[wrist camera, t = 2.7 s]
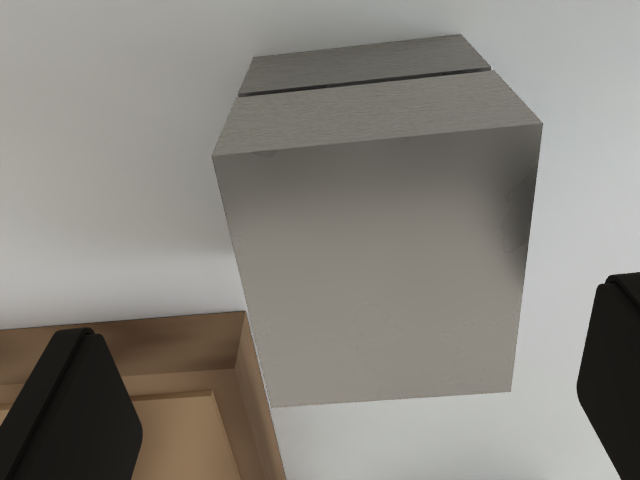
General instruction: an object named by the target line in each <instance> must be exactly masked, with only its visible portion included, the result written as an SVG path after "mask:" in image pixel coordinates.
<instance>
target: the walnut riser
mask: <svg viewBox="0 0 640 480" xmlns="http://www.w3.org/2000/svg"><path fill="white" fill-rule="evenodd" d="M83 327H90V328H91V329H92V330H93V331H94V332H95V334H101V335H102V336H103V337H104V339H105V341H106V344H107V346H108V348H109V350H110V353H111V355H112V357H113V360H114V362H115V364H116V367H117V369H118V371H119V373H120V376H121V378H122V380H123V383H124V385H125V387H126V390H127V392H128V394H129V396H130V399H131V401H132V403H133V406H134V408H135V410H136V413H137V415H138V417H139V419H140V422H141V424H142V429H143V440H142V445H141V448H140V451H139V455H138V458H137V461H136V465H135V468H134V471H133V475H132V478H131V480H286V477H285V473H284V469H283V464H282V460H281V456H280V452H279V448H278V444H277V439H276V435H275V431H274V427H273V423H272V419H271V415H270V410H269V406H268V402H267V398H266V394H265V390H264V385H263V381H262V377H261V373H260V369H259V365H258V361H257V356H256V352H255V348H254V344H253V340H252V336H251V331H250V327H249V323H248V319H247V315H246V311H241V312H228V313H215V314H202V315H190V316H177V317H164V318H151V319H139V320H126V321H113V322H100V323H88V324H75V325H62V326H49V327H37V328H24V329H11V330H0V426H1V424H2V422H3V421H4V419H5V417H6V416H7V414H8V412H9V410H10V409H11V407H12V405H13V403H14V402H15V400H16V398H17V397H18V395H19V393H20V391H21V390H22V388H23V386H24V384H25V383H26V381H27V379H28V378H29V376H30V374H31V372H32V371H33V369H34V367H35V365H36V364H37V362H38V360H39V358H40V357H41V355H42V353H43V352H44V350H45V348H46V346H47V345H48V343H49V341H50V339H51V338H52V336H53V335H54V333H55V332H56V331H58V330H62V329H72V328H83Z"/></svg>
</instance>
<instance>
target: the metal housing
mask: <svg viewBox="0 0 640 480" xmlns="http://www.w3.org/2000/svg"><path fill="white" fill-rule="evenodd" d="M238 96H239V98H236V100H235V102H234V104H233V107H232V109H231V112H230V114H229V116H228V119H227V121H226V123H225V126H224V128H223V130H222V133H221V135H220V137H219V140H218V142H217V144H216V147H215V149H214V151H213V154H212V160H213V164H214V168H215V172H216V176H217V181H218V185H219V189H220V193H221V198H222V202H223V206H224V210H225V214H226V219H227V223H228V227H229V231H230V235H231V240H232V244H233V248H234V252H235V257H236V261H237V265H238V269H239V273H240V278H241V282H242V286H243V290H244V294H245V299H246V303H247V307H248V311H249V316H250V320H251V324H252V328H253V332H254V337H255V341H256V345H257V349H258V353H259V358H260V362H261V366H262V370H263V374H264V379H265V383H266V387H267V391H268V396H269V400H270V404H271V408H273V407H288V406H303V405H318V404H333V403H348V402H363V401H378V400H393V399H408V398H423V397H438V396H453V395H469V394H484V393H499V392H511V385H512V376H513V368H514V360H515V352H516V343H517V335H518V327H519V318H520V310H521V302H522V293H523V285H524V277H525V268H526V260H527V252H528V243H529V235H530V227H531V218H532V210H533V202H534V193H535V185H536V177H537V168H538V160H539V152H540V143H541V135H542V127H543V123H542V122H541V120H540V119H539V118H538V117H537V116H536V115H535V114H534V113H533V112H532V111H531V110H530V109H529V107H528V106H527V105H526V104H525V103H524V102H523V101H522V100H521V99H520V98H519V97H518V96H517V94H516V93H515V92H514V91H513V90H512V89H511V88H510V87H509V86H508V85H507V84H506V82H505V81H504V80H503V79H502V78H501V77H500V76H499V75H498V74H497V73H496V72H495V71H491V66H490V65H489V64H488V63H487V62H486V61H485V60H484V59H483V58H482V56H481V55H480V54H479V53H478V52H477V51H476V50H475V49H474V48H473V47H472V46H471V44H470V43H469V42H468V41H467V40H466V39H465V38H464V37H463V36H462V35H461V34H459V35H450V36H441V37H432V38H423V39H414V40H405V41H396V42H387V43H378V44H369V45H360V46H351V47H342V48H333V49H324V50H315V51H306V52H297V53H288V54H279V55H270V56H261V57H253V60H252V62H251V64H250V67H249V69H248V72H247V74H246V76H245V79H244V81H243V83H242V86H241V88H240V90H239V93H238Z"/></svg>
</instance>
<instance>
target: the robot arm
mask: <svg viewBox="0 0 640 480" xmlns="http://www.w3.org/2000/svg"><path fill="white" fill-rule="evenodd" d="M577 395H578V399H579V402H580V404H581V406H582V408H583V410H584V411H585V413H586V415H587V417H588V419H589V421H590V422H591V424H592V426H593V428H594V430H595V432H596V434H597V435H598V437H599V439H600V441H601V443H602V445H603V447H604V448H605V450H606V452H607V454H608V456H609V458H610V459H611V461H612V463H613V465H614V467H615V469H616V471H617V472H618V474H619V476H620V478H621V480H640V272H637V273H627V274H617V275H611V276H609V277H608V278H607V279H606V282H605V284H600V285H599V286H598V287H597V290H596V294H595V299H594V304H593V308H592V313H591V318H590V323H589V328H588V332H587V337H586V342H585V347H584V352H583V356H582V361H581V366H580V371H579V376H578V380H577ZM142 440H143V429H142V424H141V422H140V419H139V417H138V415H137V413H136V410H135V408H134V406H133V403H132V401H131V399H130V396H129V394H128V392H127V390H126V387H125V385H124V383H123V380H122V378H121V376H120V373H119V371H118V369H117V367H116V364H115V362H114V360H113V357H112V355H111V353H110V350H109V348H108V346H107V344H106V341H105V339H104V337H103V336H102V335H101V334H95V332H94V331H93V330H92V329H91V328H90V327H83V328H72V329H62V330H58V331H56V332H55V333H54V335H53V336H52V338H51V339H50V341H49V343H48V345H47V346H46V348H45V350H44V352H43V353H42V355H41V357H40V358H39V360H38V362H37V364H36V365H35V367H34V369H33V371H32V372H31V374H30V376H29V378H28V379H27V381H26V383H25V384H24V386H23V388H22V390H21V391H20V393H19V395H18V397H17V398H16V400H15V402H14V403H13V405H12V407H11V409H10V410H9V412H8V414H7V416H6V417H5V419H4V421H3V422H2V424H1V426H0V480H131V478H132V475H133V471H134V468H135V465H136V461H137V458H138V455H139V451H140V448H141V445H142Z"/></svg>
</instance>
